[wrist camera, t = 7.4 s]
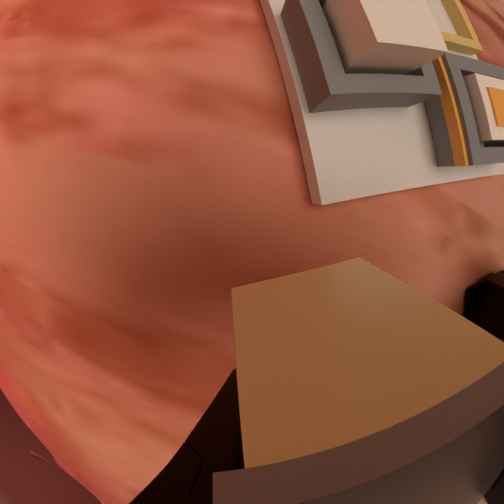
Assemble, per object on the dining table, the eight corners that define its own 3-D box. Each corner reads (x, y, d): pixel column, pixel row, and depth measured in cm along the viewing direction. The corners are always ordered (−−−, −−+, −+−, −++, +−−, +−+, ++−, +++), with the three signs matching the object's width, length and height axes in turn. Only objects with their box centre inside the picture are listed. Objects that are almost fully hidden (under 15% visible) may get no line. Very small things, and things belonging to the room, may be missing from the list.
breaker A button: (483, 143, 15) (524, 140, 11) (450, 144, 15) (494, 139, 11) (471, 91, 14) (509, 80, 10) (436, 87, 14) (476, 72, 10)
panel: (489, 173, 18) (536, 175, 13) (311, 203, 18) (346, 210, 12) (426, -16, 14) (456, -40, 9) (246, -36, 13) (253, -82, 8)
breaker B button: (404, 75, 12) (448, 52, 8) (341, 74, 12) (377, 42, 8) (382, 16, 11) (417, -15, 7) (319, 12, 11) (344, -29, 7)
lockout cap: (373, 365, 11) (477, 502, 3) (252, 399, 10) (282, 582, 3) (366, 246, 10) (562, 347, 2) (219, 281, 9) (212, 515, 2)
